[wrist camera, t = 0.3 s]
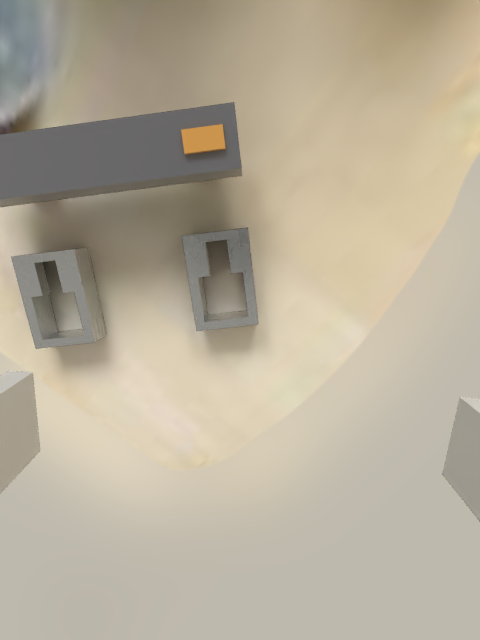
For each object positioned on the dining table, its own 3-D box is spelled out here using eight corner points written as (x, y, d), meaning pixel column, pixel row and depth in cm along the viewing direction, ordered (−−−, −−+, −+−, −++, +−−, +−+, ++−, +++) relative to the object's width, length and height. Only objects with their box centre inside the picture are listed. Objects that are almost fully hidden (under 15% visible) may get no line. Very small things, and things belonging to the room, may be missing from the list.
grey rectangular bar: (6, 162, 34) (-65, 141, 26) (236, 130, 33) (234, 100, 25) (18, 210, 35) (-46, 204, 27) (242, 181, 34) (241, 167, 26)
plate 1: (30, 254, 36) (11, 256, 33) (88, 247, 36) (74, 249, 33) (51, 339, 38) (35, 348, 35) (106, 333, 38) (95, 342, 35)
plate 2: (187, 235, 35) (181, 235, 32) (247, 227, 35) (247, 227, 32) (200, 323, 37) (196, 331, 35) (257, 317, 37) (258, 324, 34)
